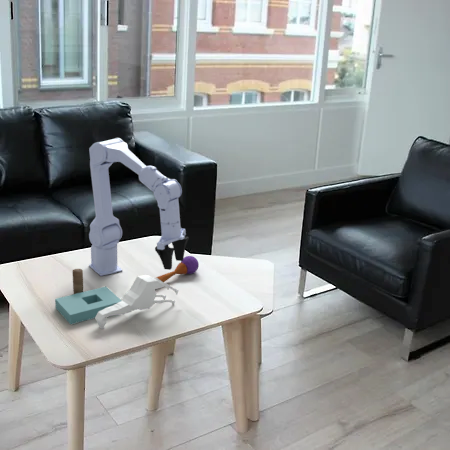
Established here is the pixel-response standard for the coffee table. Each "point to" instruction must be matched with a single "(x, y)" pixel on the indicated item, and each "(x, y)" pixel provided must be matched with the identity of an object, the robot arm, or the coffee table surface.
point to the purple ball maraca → (182, 268)
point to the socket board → (85, 304)
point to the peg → (77, 281)
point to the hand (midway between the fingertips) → (173, 264)
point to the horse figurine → (136, 298)
